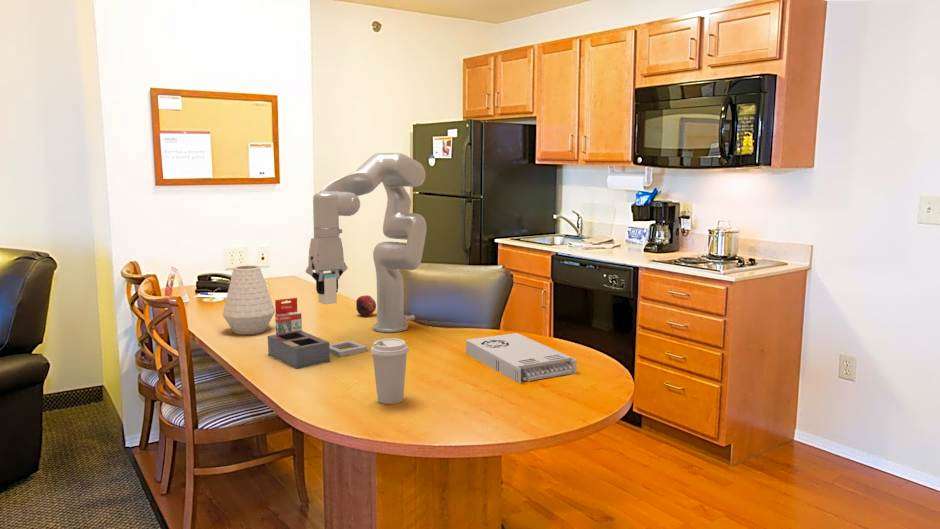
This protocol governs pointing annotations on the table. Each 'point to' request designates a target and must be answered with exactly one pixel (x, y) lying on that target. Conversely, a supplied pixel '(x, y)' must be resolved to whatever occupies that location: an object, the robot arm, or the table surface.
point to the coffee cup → (390, 369)
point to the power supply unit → (520, 357)
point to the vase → (248, 301)
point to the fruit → (365, 305)
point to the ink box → (287, 316)
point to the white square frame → (353, 350)
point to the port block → (298, 349)
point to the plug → (329, 289)
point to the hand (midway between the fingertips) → (327, 292)
